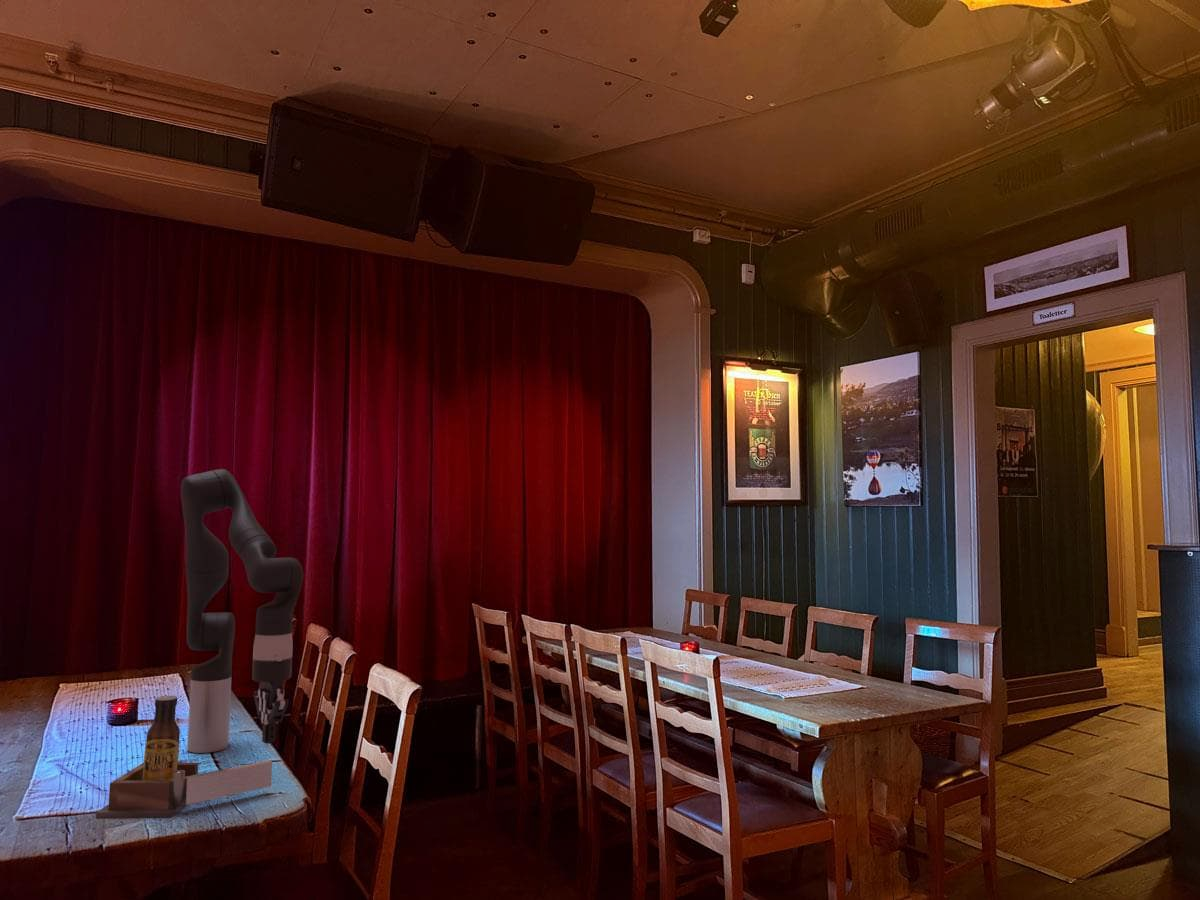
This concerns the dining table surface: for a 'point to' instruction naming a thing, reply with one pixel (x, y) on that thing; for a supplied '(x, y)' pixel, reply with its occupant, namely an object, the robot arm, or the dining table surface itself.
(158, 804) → the cradle
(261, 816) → the dining table surface
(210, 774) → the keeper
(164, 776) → the sauce bottle
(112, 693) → the dining table surface
